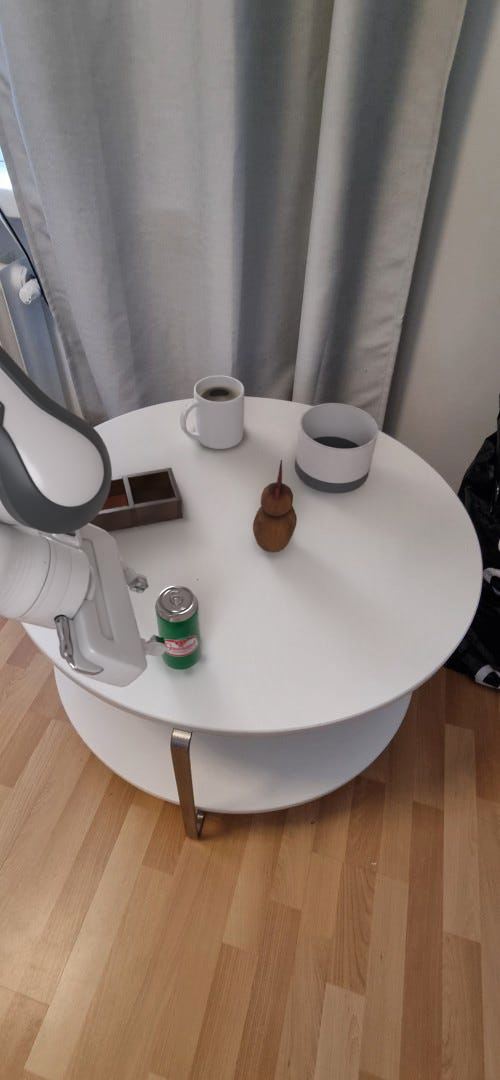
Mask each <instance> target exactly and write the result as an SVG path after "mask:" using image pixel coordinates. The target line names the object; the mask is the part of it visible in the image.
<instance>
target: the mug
mask: <svg viewBox="0 0 500 1080" xmlns="http://www.w3.org/2000/svg"><path fill="white" fill-rule="evenodd" d="M193 409H194V419H195V420H194V422H195V423H194V424H195V425H194V426H195V431H189V430H188V429H187V419H188V416H189V414H190V413H191V411H193ZM244 417H245V387H244V384H243V383H242V382H241V381H240V380H238V379H237V378H235V377H232V376H228V375H224V374H223V375H221V374H218V375H217V374H216V375H209V376H205V377H203V378H201V379H200V380H198V381H197V382H196V383H195V384H194V388H193V399H192V400H190V401H189V402H187V404H186V405H185V406H184V407H183V409H182V410H181V413H180V418H179V423H180V424H179V426H180V428H181V431H182V432H183V433H184V434H185V435H186V436H187V437H188V438H190V439H194V440H195V439H196V440H197V441H198V442H199V443H200V444H201V445H202V446H205V447H207V448H209V449H212V450H213V449H214V450H226V449H230V448H233V447H235V446H238V445H239V444H240V442H242V440H243V437H244V421H245V420H244V419H245V418H244Z"/></svg>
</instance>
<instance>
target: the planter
mask: <svg viewBox="0 0 500 1080" xmlns="http://www.w3.org/2000/svg"><path fill="white" fill-rule="evenodd" d="M379 431H380V430H379V424H378V423H377V421H376V420H375V418H374V416H372V415H371V414H370V413H368V412H366V410H363V409H362V408H359V407H357V406H353V405H351V404H348V403H341V402H339V403H338V402H326V403H320V404H316V405H314V406H312V407H310V408H308V409H307V410H305V411H304V412H303V413H302V415H301V417H300V419H299V424H298V434H297V443H296V450H295V460H294V470H295V474H296V475H297V477H298V478H299V479H300V481H301V482H302V483H304V485H307V486H308V487H310V488H312V489H314V490H316V491H319V492H323V493H328V494H345V493H350V492H353V491H355V490H357V489H359V488H361V487H362V486H363V485H364V484H365V483H366V481H367V480H368V477H369V475H370V470H371V465H372V462H373V461H372V460H373V457H374V453H375V448H376V444H377V441H378V436H379Z"/></svg>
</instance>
